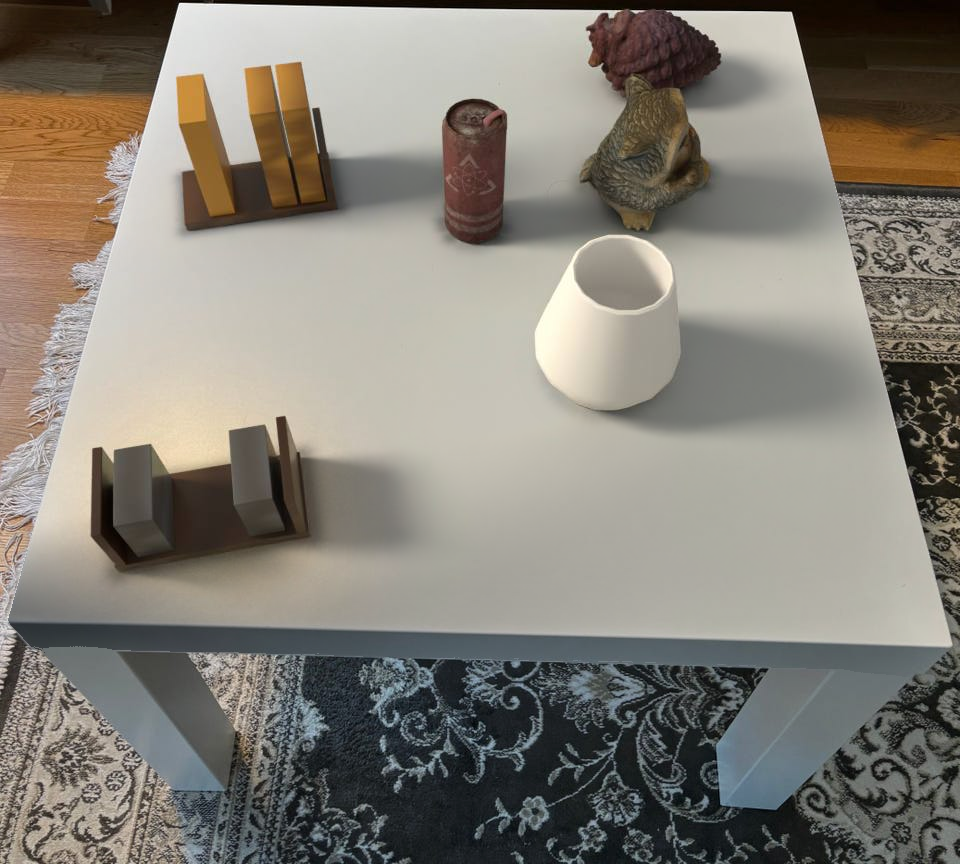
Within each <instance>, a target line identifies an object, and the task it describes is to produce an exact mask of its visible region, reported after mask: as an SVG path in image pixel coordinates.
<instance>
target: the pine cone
mask: <svg viewBox="0 0 960 864" xmlns="http://www.w3.org/2000/svg"><path fill="white" fill-rule="evenodd" d="M609 16H610V14H609V13H608V12H601V13H599V15H598V16H597V18H596V19H595V20H594V22H593V23H592V24H589V25H587V26H585V31H586V32H589V35H588V41H589V42H590V43H591V44H590V45H591V48H592V50H591V54H590V56H589V58H588V61H587V64H588V65H589V67H592V68H598V67H600V66H601V67H600V69H601V71H602V73H604V74H605V79H606V80H607V81H608V82H609V83H611V89H612V90H613V91H615V92H620V96H621V97H622V98H623V99H624V98H625V99H627V97H626V92H625V86H626V81H627V79H628V77H629V76H630V75H631V74H639V75H641V76H642V77H644V78H645V79H647V80H648V81H649V82H650V83H651V84H652V86H653V87H654V88H655V89H662V88H677V89H680V90H681V88H683V87H684V86H691V85H692V84H696V82H697V80H700V79H703V78H704V77H707V76H710V75H711V73H712V72H715V70H717V69H718V67H719V66H720V65H721V64H722V60H721V58H722V53H721V52H719V51H720V49H719V46H716V45H717V43H716V41H715V40H714V39H710V37H709V35H707V34H706V33H704V34H703V33H702V32H701V31H700V29H696V27H695V26H692V25H690V24H689V22H688V21H687V20H686V19H682V17H681V16H678V15H674V14H673V13H672V11H667V10H665V9H659V10H657V9H655V8H652V9H645V10H643V11H638V12H636V13H635V12H633V11H632V10H631V9H630V8H625V9H622V10H620V11H617V12H616V13H615V14H614V16H613V17H609Z"/></svg>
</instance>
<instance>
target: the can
mask: <svg viewBox="0 0 960 864" xmlns="http://www.w3.org/2000/svg"><path fill="white" fill-rule="evenodd" d="M507 133H508V113H507V112H506V110H504V109H502V108H500V107H499V106H498V105H497V104H495V103H493V102H492V101H490V100H487V99H483V98H467V99H462V100H460V101H457V102H455V103H453V104H452V105H451V106H450V107H449V108H448V109H447V111H446V112H445V116H444V118H443V119H442V124H441V141H442V142H441V143H442V145H441V146H442V169H443V172H442V173H443V175H442V176H443V177H442V178H443V197H444V198H443V202H444V203H443V205H444V207H443V208H444V224H445V228H446V229H447V231H448V232H449V233H450V235H451V236H452V237H454V238H455V239H457V240H458V241H460V242H463V243H465V244H473V245H475V244H476V245H477V244H482V243H483V244H484V243H485V242H488V241H490V240H491V239H493V238H494V237H495V236H496V235H498V233H499V232H500V230H501V229H502V227H503V220H504V200H505V199H504V198H505V178H506V177H505V176H506V175H505V174H506V158H507V157H506V156H507V155H506V152H507Z"/></svg>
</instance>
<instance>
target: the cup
mask: <svg viewBox="0 0 960 864" xmlns="http://www.w3.org/2000/svg"><path fill="white" fill-rule="evenodd" d="M678 303H679V301H678V289H677V279H676V271H675V266H674V264H673V263H672V261H671V260H670V258H669V257H668V256H667V254H666V252H665V251H664V250H662V249H661V248H659V247H658V246H656V245H655V244H653V243H652V242H651V241H649V240H647V239H643V238H640V237H637V236H634V235H630V234H607V235H603V236H600V237H597V238H594V239H590V240H589V241H588V242H586V243H585V244H584V245H582V246H581V247H580V248H578V249H577V250H576V251H575V254H574V255H573V257H572V259H571V260H570V262H569V264H568V266H567V268H566V269H565V272H564V274H563V275H562V278H561V279H560V280H559V283H558V285H557V287H556V289H555V290H554V292H553V294H552V296H551V298H550V300H549V301H548V303H547V305H546V306H545V309H544V310H543V313H542V315H541V318H540V319H539V321H538V324H537V326H536V327H535V330H534V347H535V358H536V362H537V364H538V365H539V367H540V369H541V370H542V372H543V374H544V376H545V378H546V379H547V381H548V383H550V384H551V385H552V386H553V387H554V388H555V389H557V390H559V392H561V393H562V394H563V395H565V396H566V397H567V398H568V399H570V400H571V401H572V402H573V403H575V404H576V405H579V406H582V407H585V408H587V409H591V410H593V411H617V410H622V409H623V410H624V409H627V408H630V407H633V406H636V405H639V404H641V403H644V402H647V401H649V400H652V399H653V398H654V397H655V396H656V395H657V394H658V393H660V391H662V390H663V389H664V388H665V387H666V386H667V385H668V384H669V383H670V382H671V380H673V378H674V375H675V372H676V369H677V367H678V364H679V362H680V359H681V353H682V349H681V348H682V346H681V333H680V332H681V331H680V318H679V304H678Z"/></svg>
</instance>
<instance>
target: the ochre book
mask: <svg viewBox="0 0 960 864" xmlns="http://www.w3.org/2000/svg"><path fill="white" fill-rule="evenodd" d="M175 81H176V83H175V85H176V101H177V102H176V103H177V120H178V121H177V122H178V126H179V129H180V132H181V136H182V138H183V142H184V144H185V147H186V150H187V152H188V155H189V158H190V162H191V164H192V167H193V170H195V173H196V176H197V179H198V182H199V185H200V188H201V191H202V194H203V196H204V199H205V202H206V205H207V208H208V211H209V214H210V217H213V216H220V215H227V214H234V213H235V204H234V194H233V183H232V172H231V166H230V165H231V163H230V160H229V156H228V153H227V150H226V146H225V143H224V139H223V136H222V133H221V132H222V131H221V129H220V126H219V123H218V118H217V116H216V112H215V110H214V106H213V102H212V99H211V96H210V92H209V88H208V85H207V82H206V80H205V75H204V73H195V74H187V75H179V76H176V77H175Z"/></svg>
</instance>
